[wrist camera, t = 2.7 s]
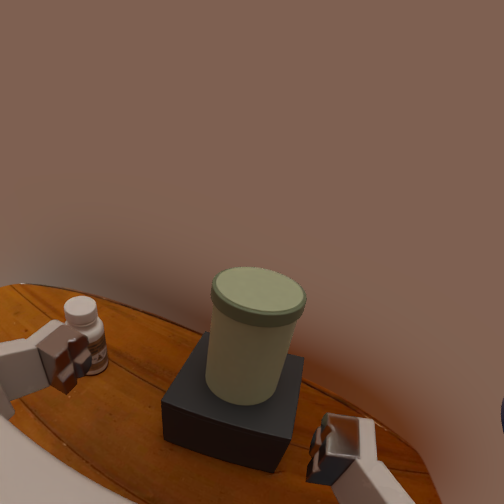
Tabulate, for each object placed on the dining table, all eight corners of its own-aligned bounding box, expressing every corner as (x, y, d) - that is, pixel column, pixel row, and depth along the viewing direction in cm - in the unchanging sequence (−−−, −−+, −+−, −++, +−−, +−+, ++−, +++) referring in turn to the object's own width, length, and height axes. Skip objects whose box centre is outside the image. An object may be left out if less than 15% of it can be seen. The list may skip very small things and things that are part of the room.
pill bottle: (91, 382, 26) (78, 323, 23) (64, 363, 27) (51, 305, 25) (116, 361, 30) (109, 303, 27) (89, 344, 31) (81, 288, 29)
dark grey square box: (289, 397, 30) (304, 357, 28) (273, 473, 21) (291, 439, 19) (201, 372, 32) (205, 330, 29) (163, 439, 22) (160, 400, 20)
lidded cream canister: (294, 384, 24) (325, 295, 21) (238, 421, 20) (260, 325, 17) (243, 345, 28) (259, 259, 25) (186, 370, 24) (193, 275, 21)
